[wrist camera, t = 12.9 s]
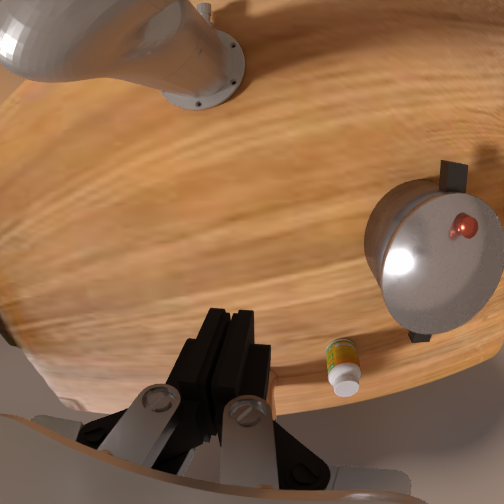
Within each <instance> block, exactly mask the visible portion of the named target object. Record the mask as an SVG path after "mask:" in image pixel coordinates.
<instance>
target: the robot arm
mask: <svg viewBox="0 0 504 504" xmlns="http://www.w3.org/2000/svg"><path fill="white" fill-rule="evenodd" d="M210 16H211V4H209V3H201V4H198V5H197V10H196V8H195V7H194V6H193V5H192V4H191V3H190V1H189V0H2V1H1V2H0V63H1V65H3V67H4V68H6V69H7V70H8V71H10V72H11V73H13V74H15V75H17V76H19V77H22V78H25V79H28V80H32V81H37V82H47V83H58V82H73V81H80V80H87V79H94V78H114V79H119V80H124V81H128V82H131V83H135V84H139V85H143V86H147V87H151V88H154V89H158V90H160V91H161V93H162V95H163V96H164V97H165V98H166V99H167V100H168V101H169V102H171V103H172V104H173V105H175V106H178V107H180V108H183V109H187V110H205V109H210V108H213V107H215V106H218V105H220V104H221V103H223V102H224V101H226V100H227V99H228V98H230V97H231V96H232V95H233V94H234V93H235V91H236V90H237V89H238V88H239V86H240V84H241V82H242V80H243V77H244V73H245V65H246V63H245V56H244V53H243V51H242V49H241V47H240V45H239V44H238V42H237V41H236V40H235V39H234V38H233V37H232V36H230V35H229V34H228V33H226V32H224V31H222V30H218V29H214V28H213V23H212V22H210ZM233 46H235V48H232V47H233ZM233 82H236V84H235V85H233ZM200 103H201V104H202V105H201V106H199V104H200ZM270 361H271V345H263V344H254V311H252V310H239V311H238V313H233V316H232V319H231V318H230V313H226V312H225V309H219V308H210V309H209V311H208V314H207V316H206V318H205V320H204V322H203V325H202V327H201V329H200V331H199V333H198V336H197V338H196V339H191V338H189V339H187V341H186V342H185V344H184V346H183V348H182V350H181V352H180V355H179V357H178V359H177V361H176V363H175V365H174V367H173V369H172V371H171V373H170V375H169V377H168V379H167V382H166V384H154V385H151V386H148V387H147V388H145V389H144V390H143V391H142V392H141V393H140V394H139V395H138V396H137V398H136V399H135V400H134V402H133V403H132V404H131V406H130V407H129V408H128V409H125V410H122V411H120V412H117V413H114V414H111V415H109V416H106V417H103V418H100V419H97V420H95V421H91V422H89V423H87V424H85V425H83V423H82V422H79V421H73V420H67V419H62V418H57V417H52V416H47V415H38V416H35V417H34V418H32V419H31V420H28V419H25V418H23V417H19V416H15V415H9V414H0V504H428V503H426V502H425V501H423V500H421V499H419V498H415V497H413V496H410V494H411V480H410V479H409V477H408V475H407V474H405V473H404V472H402V471H398V470H389V469H377V468H365V467H356V466H349V465H341V464H340V465H339V467H338V466H332V465H327V464H326V463H325V462H324V461H323V460H322V459H320V458H319V457H318V456H316V455H315V454H314V453H313V452H311V451H310V450H309V449H307V448H306V447H305V446H304V445H303V444H301V443H300V442H299V441H298V440H297V439H295V438H294V437H293V436H292V435H290V434H289V433H288V432H287V431H286V430H285V429H283V428H282V427H281V426H280V425H279V424H277V423H276V422H275V421H274V420H273V417H272V410H271V407H270V405H269V404H268V403H267V393H268V385H269V376H270ZM217 433H218V437H219V442H220V447H221V466H220V467H221V468H220V483H214V482H207V481H202V480H197V479H192V478H187V477H183V475H184V473H185V471H186V469H187V467H188V465H189V463H190V461H191V460H192V458H193V456H194V454H195V451H196V447H197V446H199V445H201V444H203V441H205V442H210V439H211V435H215V436H216V434H217Z"/></svg>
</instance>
